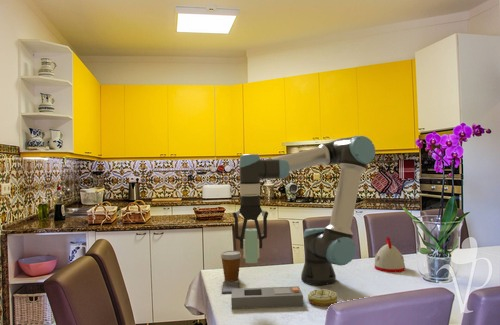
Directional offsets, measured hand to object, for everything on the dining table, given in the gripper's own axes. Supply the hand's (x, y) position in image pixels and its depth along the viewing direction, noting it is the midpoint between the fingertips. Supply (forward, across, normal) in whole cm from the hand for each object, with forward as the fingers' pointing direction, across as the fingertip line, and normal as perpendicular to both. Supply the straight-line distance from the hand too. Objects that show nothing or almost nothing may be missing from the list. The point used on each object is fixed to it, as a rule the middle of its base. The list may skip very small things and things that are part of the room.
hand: (251, 257), depth 135 cm
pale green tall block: (+2, 0, 0) cm, 2 cm away
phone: (+18, +9, -18) cm, 27 cm away
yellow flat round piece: (+17, -26, +1) cm, 32 cm away
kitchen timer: (+17, -68, -39) cm, 81 cm away
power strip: (+17, -5, 0) cm, 18 cm away
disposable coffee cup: (+17, +9, -31) cm, 37 cm away
